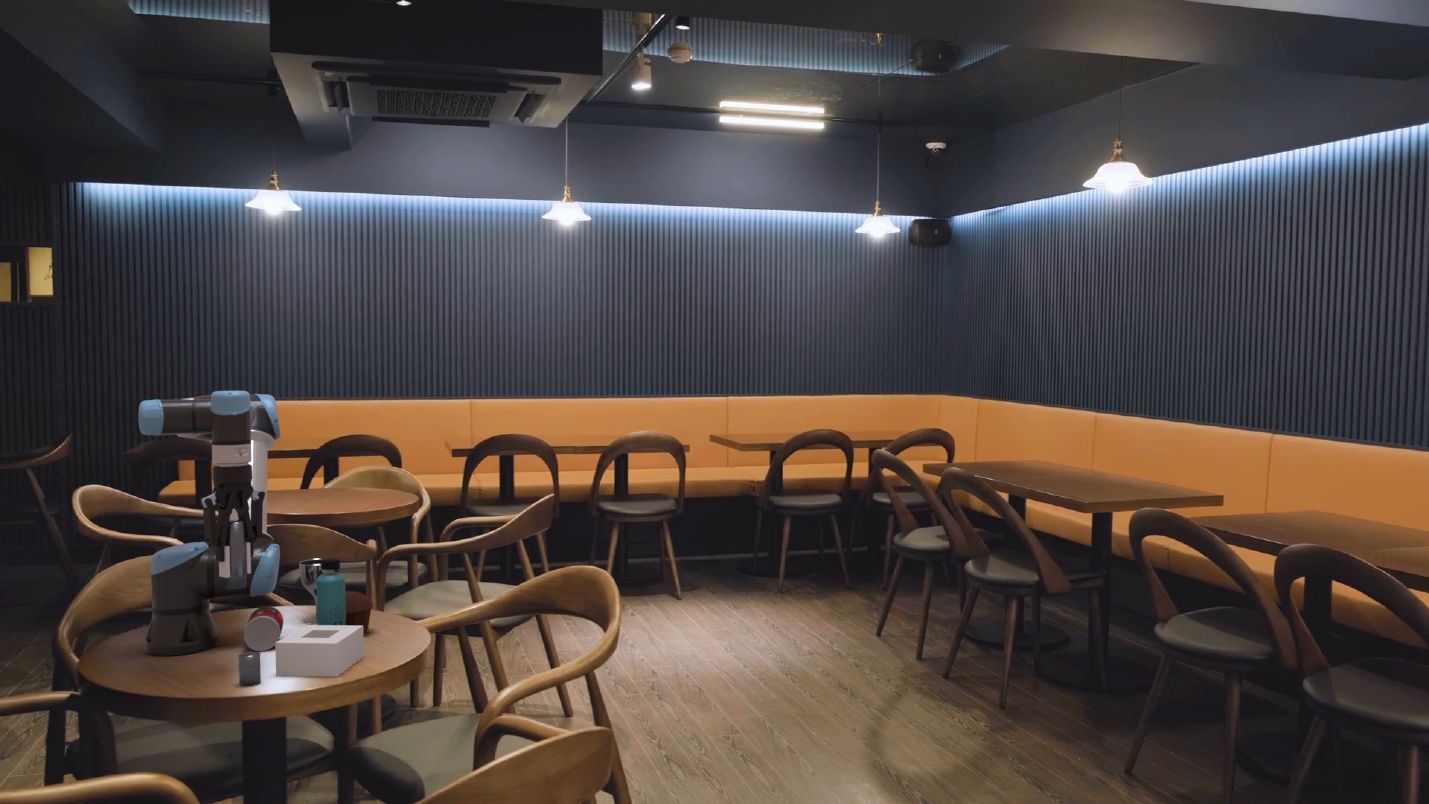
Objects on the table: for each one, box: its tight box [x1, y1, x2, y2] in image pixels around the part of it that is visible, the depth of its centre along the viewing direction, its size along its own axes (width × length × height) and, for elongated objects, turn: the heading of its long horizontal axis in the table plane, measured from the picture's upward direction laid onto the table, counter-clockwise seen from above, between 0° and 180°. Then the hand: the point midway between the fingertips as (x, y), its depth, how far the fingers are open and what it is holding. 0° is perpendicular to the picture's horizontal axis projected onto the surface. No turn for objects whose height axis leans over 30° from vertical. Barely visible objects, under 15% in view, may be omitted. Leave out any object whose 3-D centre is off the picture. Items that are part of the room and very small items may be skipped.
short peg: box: [238, 651, 262, 688], centre depth 209 cm, size 4×4×6 cm
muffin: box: [345, 590, 374, 636], centre depth 246 cm, size 12×11×10 cm
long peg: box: [225, 520, 246, 589], centre depth 216 cm, size 4×4×14 cm
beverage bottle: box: [316, 557, 347, 625], centre depth 236 cm, size 6×7×20 cm
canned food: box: [243, 605, 284, 652], centre depth 237 cm, size 8×8×11 cm
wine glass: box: [298, 557, 334, 625], centre depth 258 cm, size 8×8×15 cm
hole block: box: [274, 624, 365, 678], centre depth 220 cm, size 13×14×7 cm
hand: (235, 574), depth 217 cm, fingers closed on long peg, 4 cm apart
